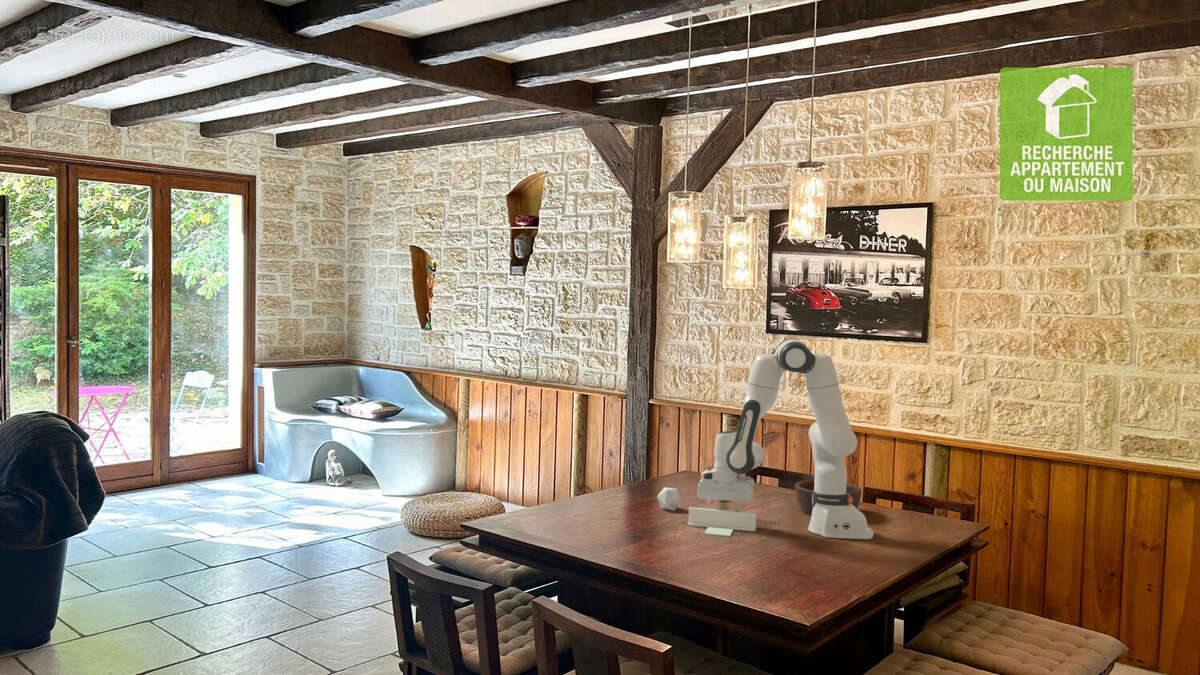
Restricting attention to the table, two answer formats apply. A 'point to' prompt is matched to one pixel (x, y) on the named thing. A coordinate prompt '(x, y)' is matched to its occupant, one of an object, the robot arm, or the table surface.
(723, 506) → the birch block
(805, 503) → the wooden bowl
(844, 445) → the robot arm
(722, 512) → the white shelf
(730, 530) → the sage mat
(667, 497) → the die
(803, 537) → the table surface
